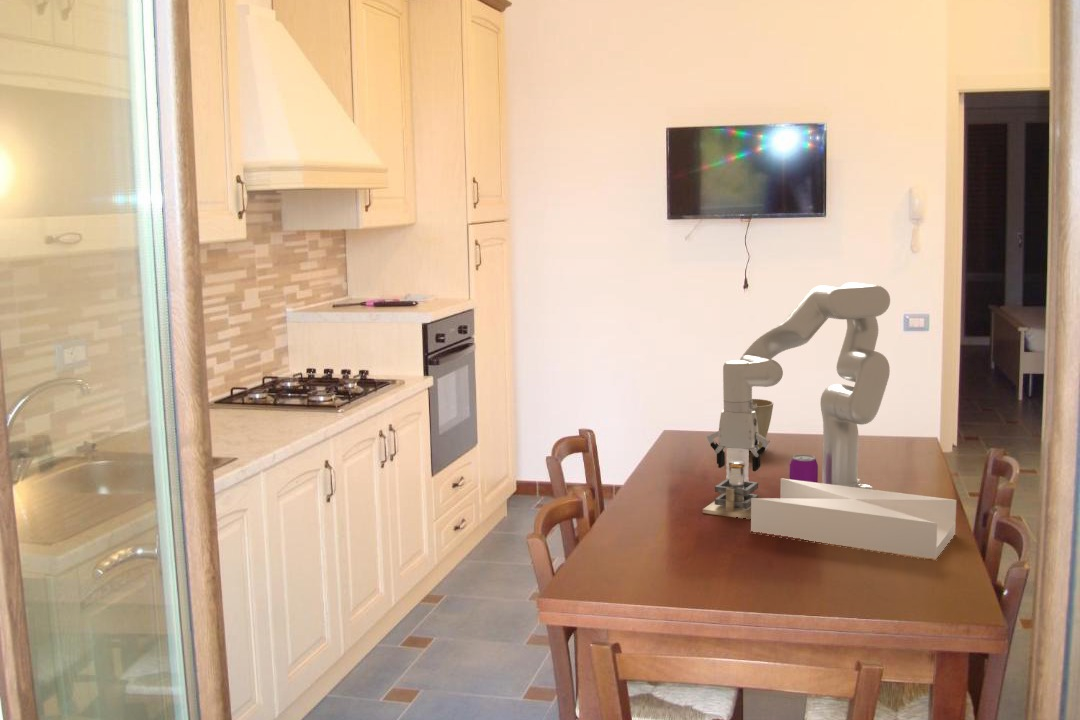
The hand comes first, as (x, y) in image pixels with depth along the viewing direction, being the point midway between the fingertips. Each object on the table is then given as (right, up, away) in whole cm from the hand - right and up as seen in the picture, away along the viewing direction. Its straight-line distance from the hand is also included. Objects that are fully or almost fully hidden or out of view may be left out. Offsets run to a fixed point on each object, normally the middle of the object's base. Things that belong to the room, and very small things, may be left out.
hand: (738, 468), depth 293 cm
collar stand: (0, -11, +2) cm, 11 cm away
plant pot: (+17, -1, +70) cm, 72 cm away
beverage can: (+20, -10, +10) cm, 25 cm away
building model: (+25, -15, -21) cm, 36 cm away
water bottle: (+5, -7, +28) cm, 30 cm away
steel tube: (0, -10, +1) cm, 10 cm away
